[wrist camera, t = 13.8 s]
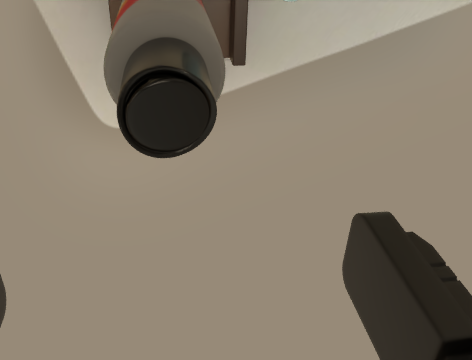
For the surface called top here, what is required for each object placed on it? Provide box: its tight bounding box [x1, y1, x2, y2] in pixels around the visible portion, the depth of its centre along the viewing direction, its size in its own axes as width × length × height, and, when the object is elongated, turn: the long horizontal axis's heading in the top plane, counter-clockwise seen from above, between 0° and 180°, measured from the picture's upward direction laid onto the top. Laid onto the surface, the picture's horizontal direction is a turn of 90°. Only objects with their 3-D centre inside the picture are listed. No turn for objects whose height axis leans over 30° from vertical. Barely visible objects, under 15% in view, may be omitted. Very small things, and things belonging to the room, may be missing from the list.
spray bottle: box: [104, 0, 225, 158], centre depth 25 cm, size 6×6×20 cm
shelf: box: [108, 0, 248, 66], centre depth 35 cm, size 10×8×7 cm
